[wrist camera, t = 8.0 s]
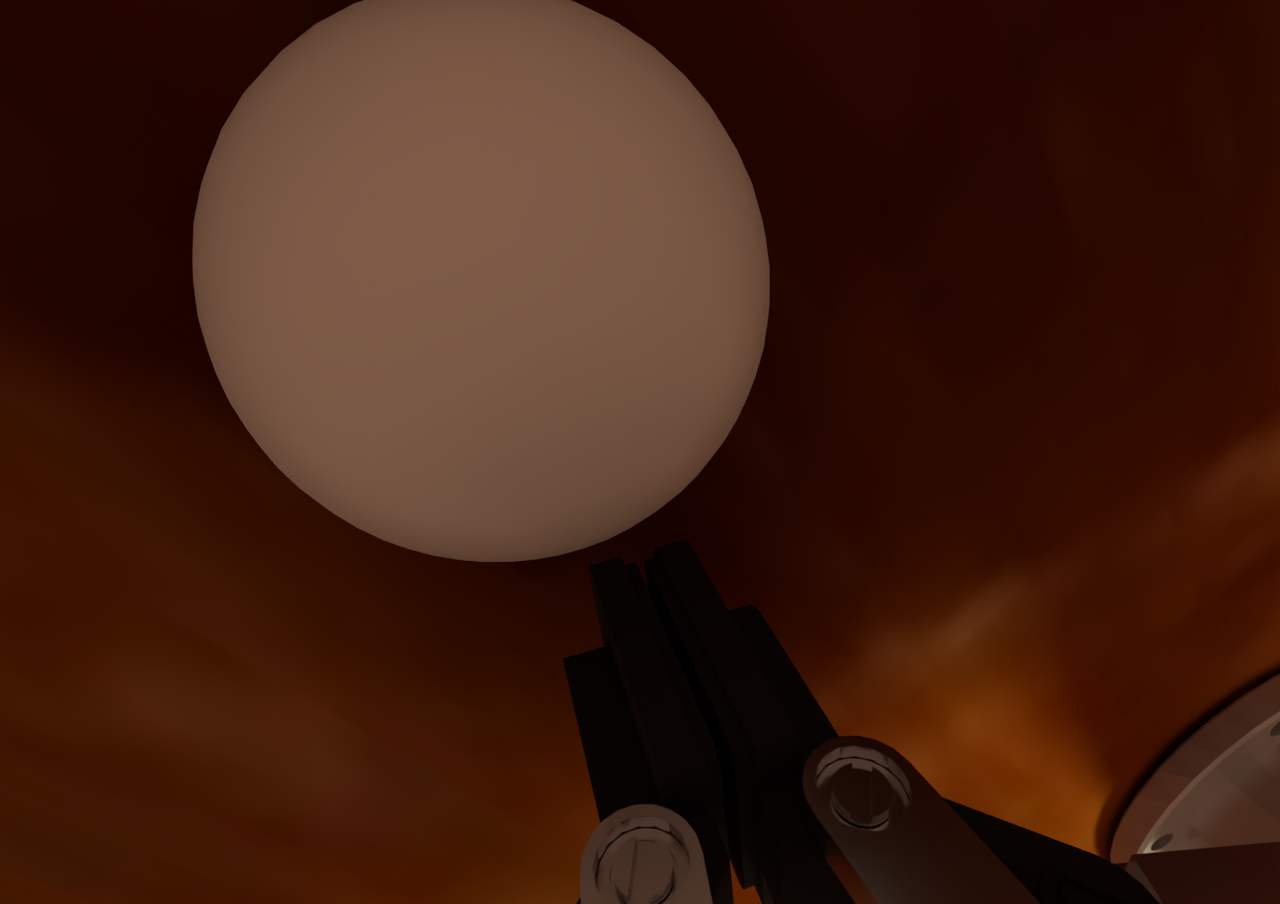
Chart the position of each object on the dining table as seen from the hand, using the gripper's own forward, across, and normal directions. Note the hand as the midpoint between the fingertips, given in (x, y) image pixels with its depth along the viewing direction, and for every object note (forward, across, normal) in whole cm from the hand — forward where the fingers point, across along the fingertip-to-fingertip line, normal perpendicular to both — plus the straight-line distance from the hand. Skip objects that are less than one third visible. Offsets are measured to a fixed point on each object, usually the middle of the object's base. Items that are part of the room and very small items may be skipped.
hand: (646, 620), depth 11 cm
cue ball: (-1, +1, -6) cm, 6 cm away
